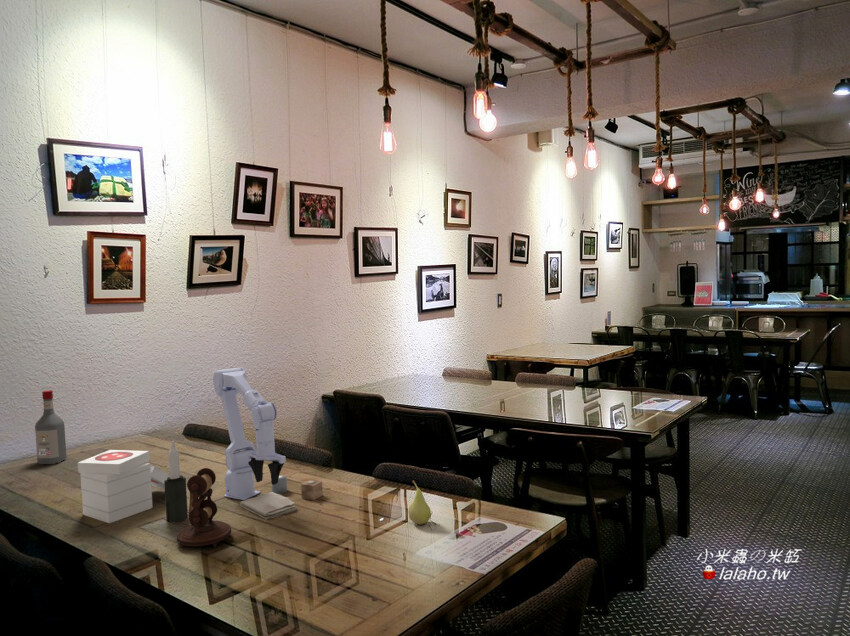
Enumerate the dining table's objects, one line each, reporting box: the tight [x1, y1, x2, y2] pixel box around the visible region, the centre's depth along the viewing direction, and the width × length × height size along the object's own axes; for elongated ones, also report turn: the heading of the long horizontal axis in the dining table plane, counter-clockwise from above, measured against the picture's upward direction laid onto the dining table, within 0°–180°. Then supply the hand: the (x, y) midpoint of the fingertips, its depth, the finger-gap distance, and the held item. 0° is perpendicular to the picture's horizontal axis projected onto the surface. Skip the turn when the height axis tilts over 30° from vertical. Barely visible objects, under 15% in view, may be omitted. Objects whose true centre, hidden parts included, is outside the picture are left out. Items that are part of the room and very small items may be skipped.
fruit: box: [407, 480, 432, 525], centre depth 187 cm, size 7×8×12 cm
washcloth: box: [239, 491, 297, 520], centre depth 204 cm, size 12×18×3 cm, turn 45°
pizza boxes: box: [77, 449, 170, 524], centre depth 209 cm, size 19×30×18 cm, turn 147°
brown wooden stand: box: [176, 467, 232, 548], centre depth 179 cm, size 15×15×20 cm
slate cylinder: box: [271, 474, 288, 495], centre depth 219 cm, size 5×5×5 cm
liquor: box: [34, 389, 68, 465], centre depth 263 cm, size 9×9×30 cm
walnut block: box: [300, 479, 323, 501], centre depth 213 cm, size 5×5×5 cm
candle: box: [164, 440, 189, 524], centre depth 195 cm, size 5×5×25 cm
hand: (267, 482), depth 203 cm, fingers open, 6 cm apart
